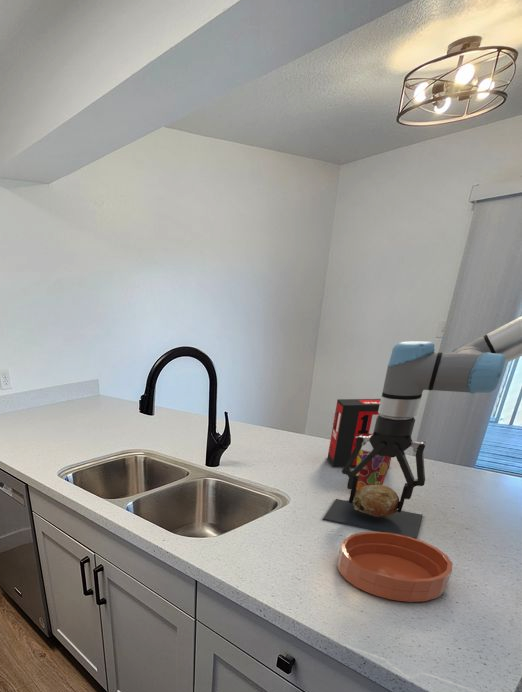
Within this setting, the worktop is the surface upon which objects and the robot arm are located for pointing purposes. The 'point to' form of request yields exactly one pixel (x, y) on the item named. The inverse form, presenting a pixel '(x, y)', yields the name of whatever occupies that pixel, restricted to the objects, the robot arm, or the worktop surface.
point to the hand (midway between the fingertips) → (374, 505)
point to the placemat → (374, 519)
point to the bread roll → (376, 500)
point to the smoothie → (371, 467)
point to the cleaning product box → (351, 427)
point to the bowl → (394, 566)
